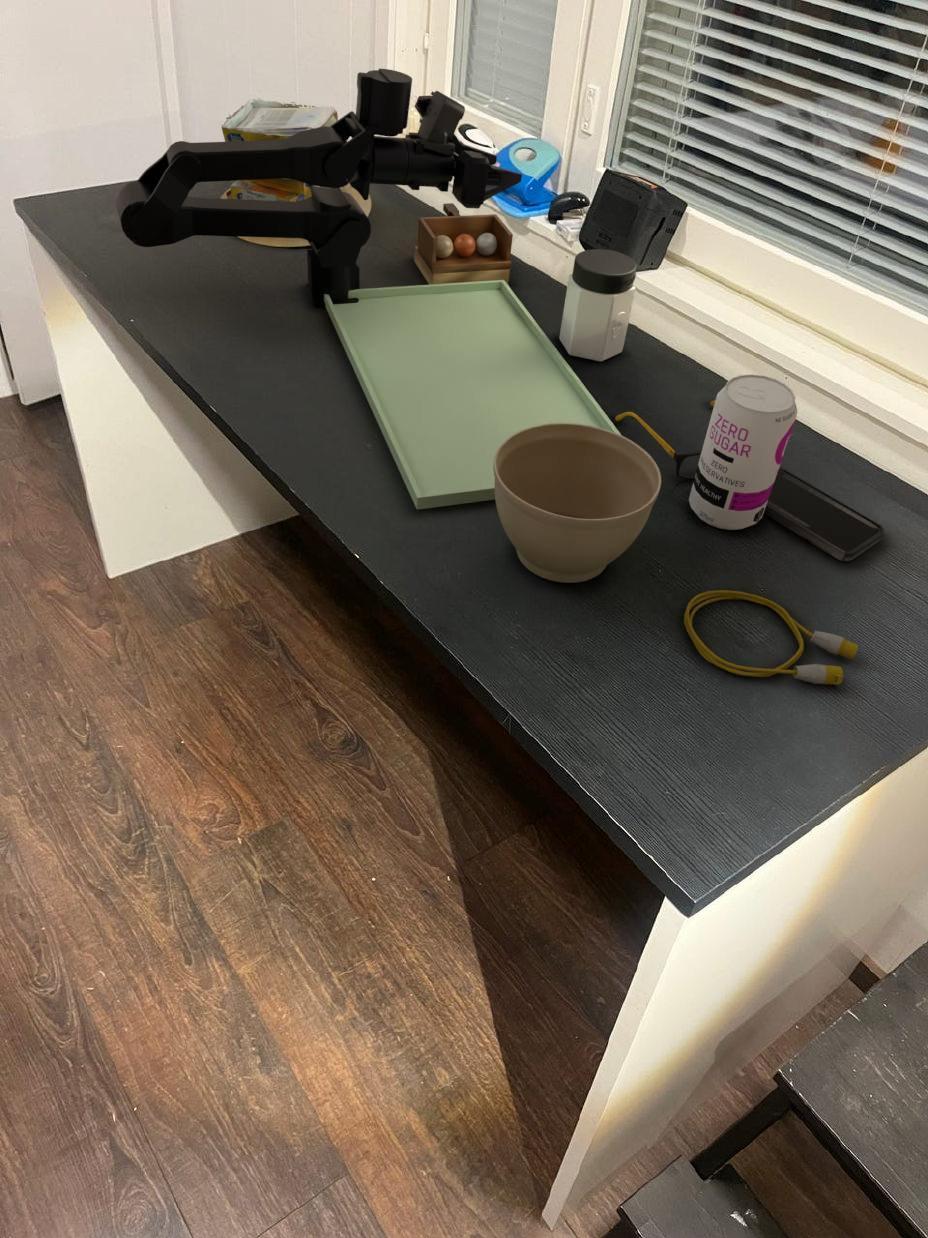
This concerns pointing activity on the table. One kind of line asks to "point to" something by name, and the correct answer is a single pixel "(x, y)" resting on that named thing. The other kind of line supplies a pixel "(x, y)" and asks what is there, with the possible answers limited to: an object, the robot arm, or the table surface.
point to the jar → (598, 304)
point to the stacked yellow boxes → (276, 124)
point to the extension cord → (822, 639)
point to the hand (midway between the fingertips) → (508, 168)
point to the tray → (456, 380)
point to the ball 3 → (486, 244)
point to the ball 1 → (443, 246)
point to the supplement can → (742, 451)
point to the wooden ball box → (458, 226)
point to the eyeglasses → (664, 443)
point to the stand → (458, 274)
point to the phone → (820, 518)
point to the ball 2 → (464, 245)
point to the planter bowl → (572, 497)
